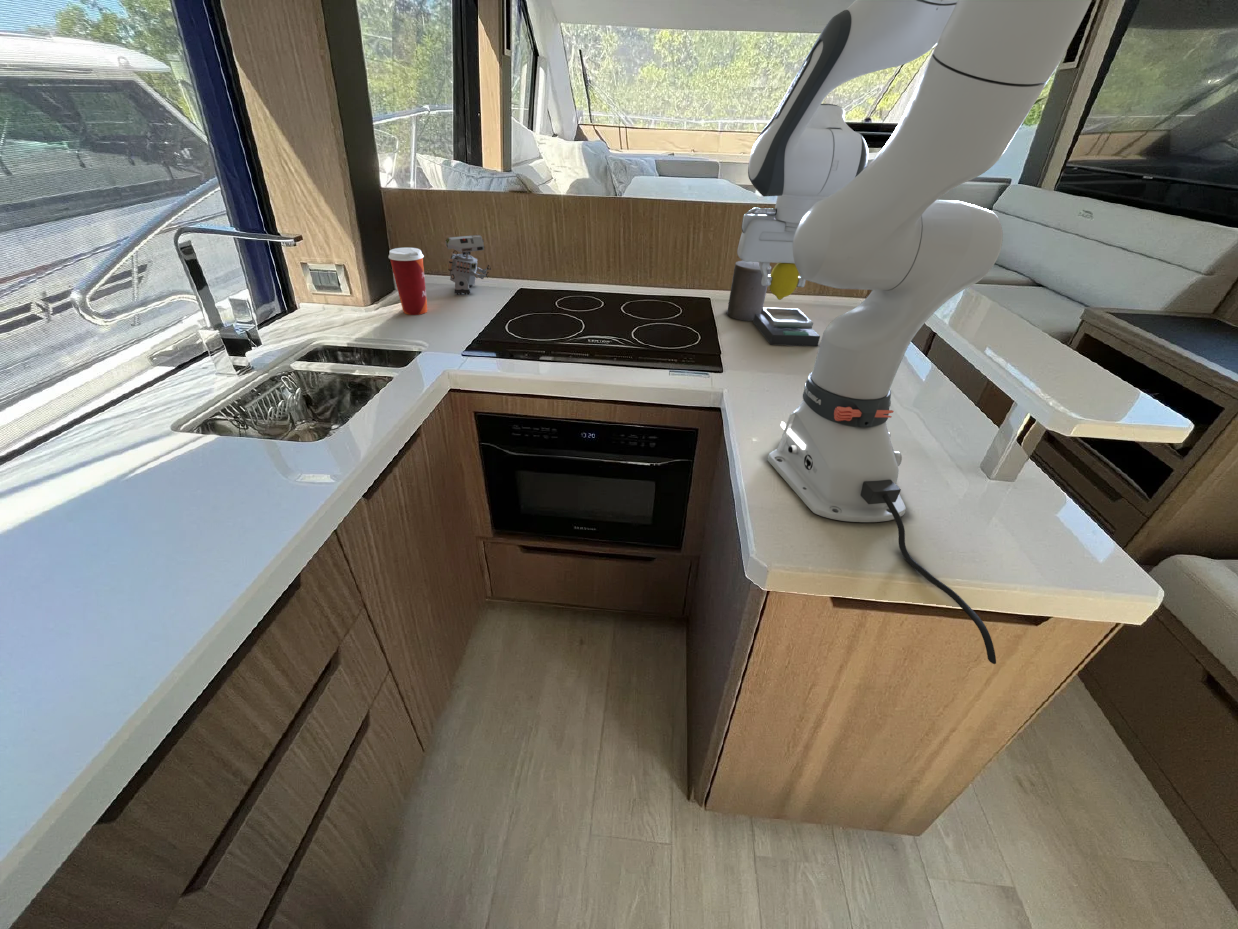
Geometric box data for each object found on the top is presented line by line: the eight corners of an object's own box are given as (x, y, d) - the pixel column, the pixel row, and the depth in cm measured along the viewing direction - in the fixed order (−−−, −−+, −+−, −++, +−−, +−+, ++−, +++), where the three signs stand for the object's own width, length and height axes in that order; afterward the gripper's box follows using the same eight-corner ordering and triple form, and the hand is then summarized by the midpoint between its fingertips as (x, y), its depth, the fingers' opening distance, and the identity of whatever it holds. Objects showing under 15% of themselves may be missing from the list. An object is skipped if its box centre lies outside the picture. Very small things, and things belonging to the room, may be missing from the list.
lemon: (794, 305, 104) (804, 262, 100) (765, 302, 105) (774, 260, 100) (792, 297, 108) (801, 256, 104) (765, 294, 109) (773, 254, 105)
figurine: (490, 295, 151) (486, 239, 143) (449, 294, 149) (442, 238, 141) (492, 286, 158) (487, 233, 150) (453, 285, 157) (446, 231, 148)
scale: (817, 345, 130) (820, 334, 129) (770, 344, 129) (773, 332, 128) (795, 323, 144) (798, 313, 142) (753, 322, 143) (755, 311, 141)
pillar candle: (721, 315, 146) (730, 259, 138) (734, 307, 153) (744, 253, 145) (753, 323, 142) (765, 266, 134) (766, 314, 149) (778, 259, 140)
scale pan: (811, 328, 131) (813, 322, 131) (773, 327, 131) (774, 321, 130) (796, 314, 141) (798, 308, 140) (760, 313, 140) (761, 307, 139)
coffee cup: (438, 311, 137) (429, 251, 129) (409, 318, 132) (398, 256, 123) (420, 304, 141) (410, 245, 133) (392, 310, 136) (380, 249, 128)
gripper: (749, 209, 94) (735, 288, 102) (858, 215, 96) (837, 291, 103) (740, 204, 99) (728, 279, 107) (844, 209, 101) (824, 283, 108)
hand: (782, 285), depth 105 cm, fingers closed on lemon, 5 cm apart
